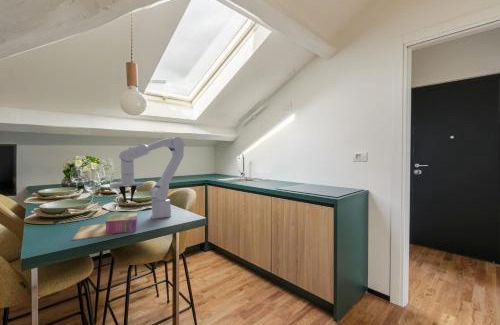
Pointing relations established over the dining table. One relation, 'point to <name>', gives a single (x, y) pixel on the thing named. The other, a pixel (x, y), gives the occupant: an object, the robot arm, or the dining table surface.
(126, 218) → the box
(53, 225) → the dining table surface
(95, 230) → the wooden board
